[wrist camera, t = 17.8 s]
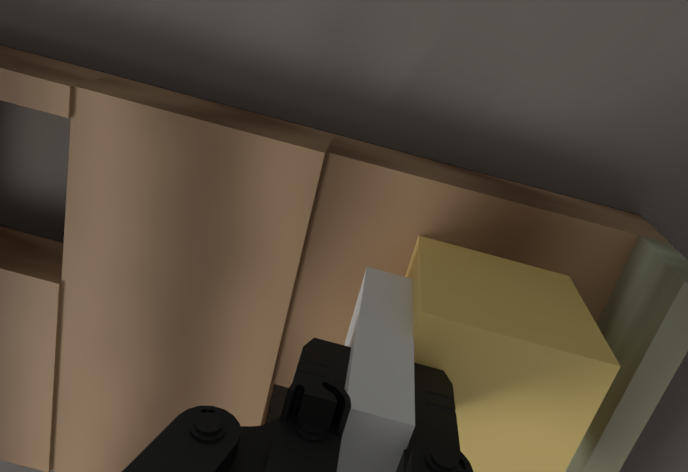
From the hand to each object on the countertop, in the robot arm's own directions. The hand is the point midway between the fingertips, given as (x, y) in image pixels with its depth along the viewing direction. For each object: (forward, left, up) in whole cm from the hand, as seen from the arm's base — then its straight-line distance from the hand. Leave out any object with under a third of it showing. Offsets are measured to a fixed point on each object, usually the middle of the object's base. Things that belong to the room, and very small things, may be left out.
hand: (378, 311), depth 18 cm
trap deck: (-5, -4, -4) cm, 8 cm away
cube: (+3, 0, -2) cm, 4 cm away
